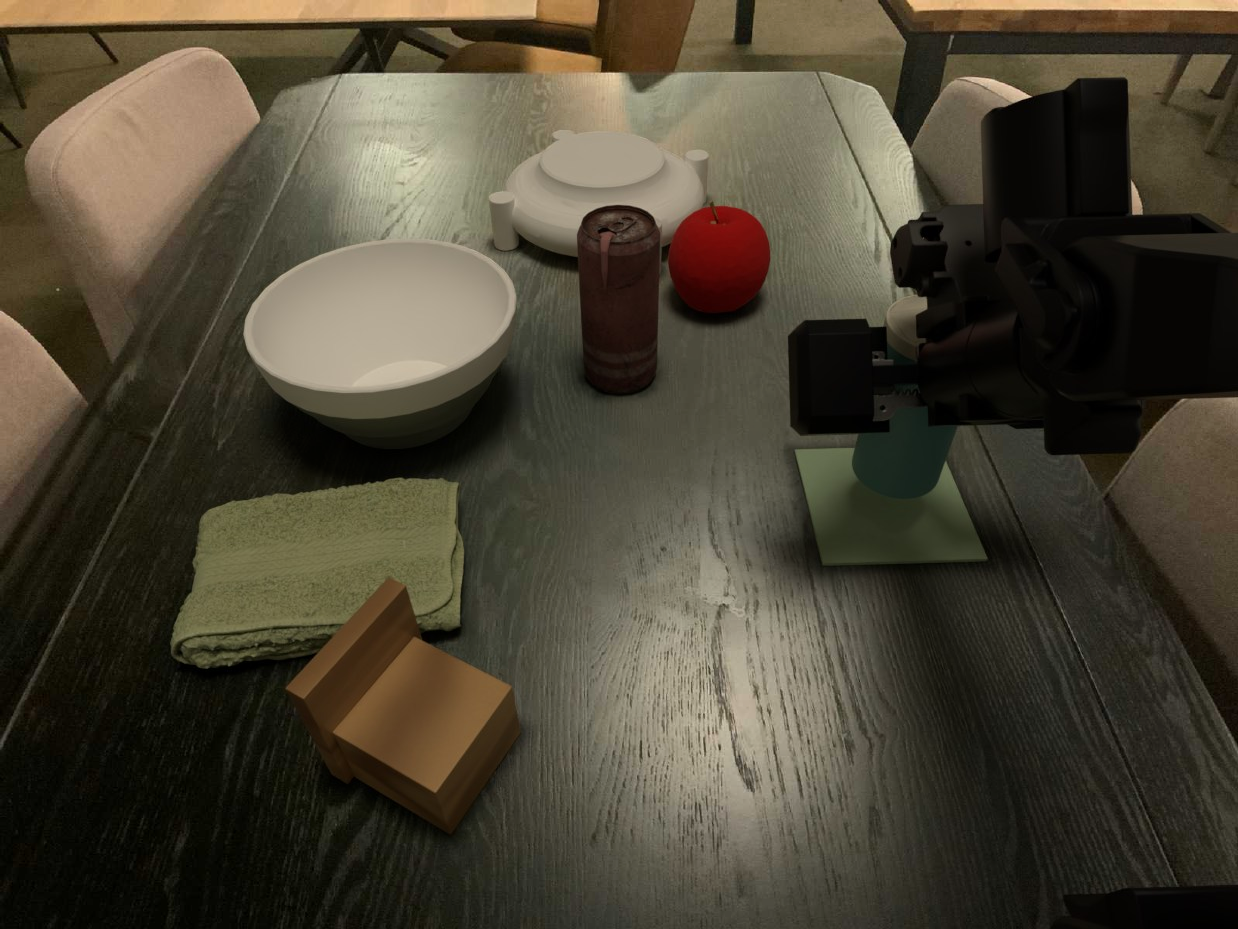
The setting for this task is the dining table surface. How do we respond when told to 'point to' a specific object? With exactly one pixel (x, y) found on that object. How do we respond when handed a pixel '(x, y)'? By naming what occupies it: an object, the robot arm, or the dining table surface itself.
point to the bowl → (385, 337)
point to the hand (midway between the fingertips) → (909, 389)
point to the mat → (882, 517)
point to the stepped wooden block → (404, 712)
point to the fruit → (719, 258)
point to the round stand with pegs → (595, 188)
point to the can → (619, 297)
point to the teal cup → (903, 424)
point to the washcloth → (317, 568)
